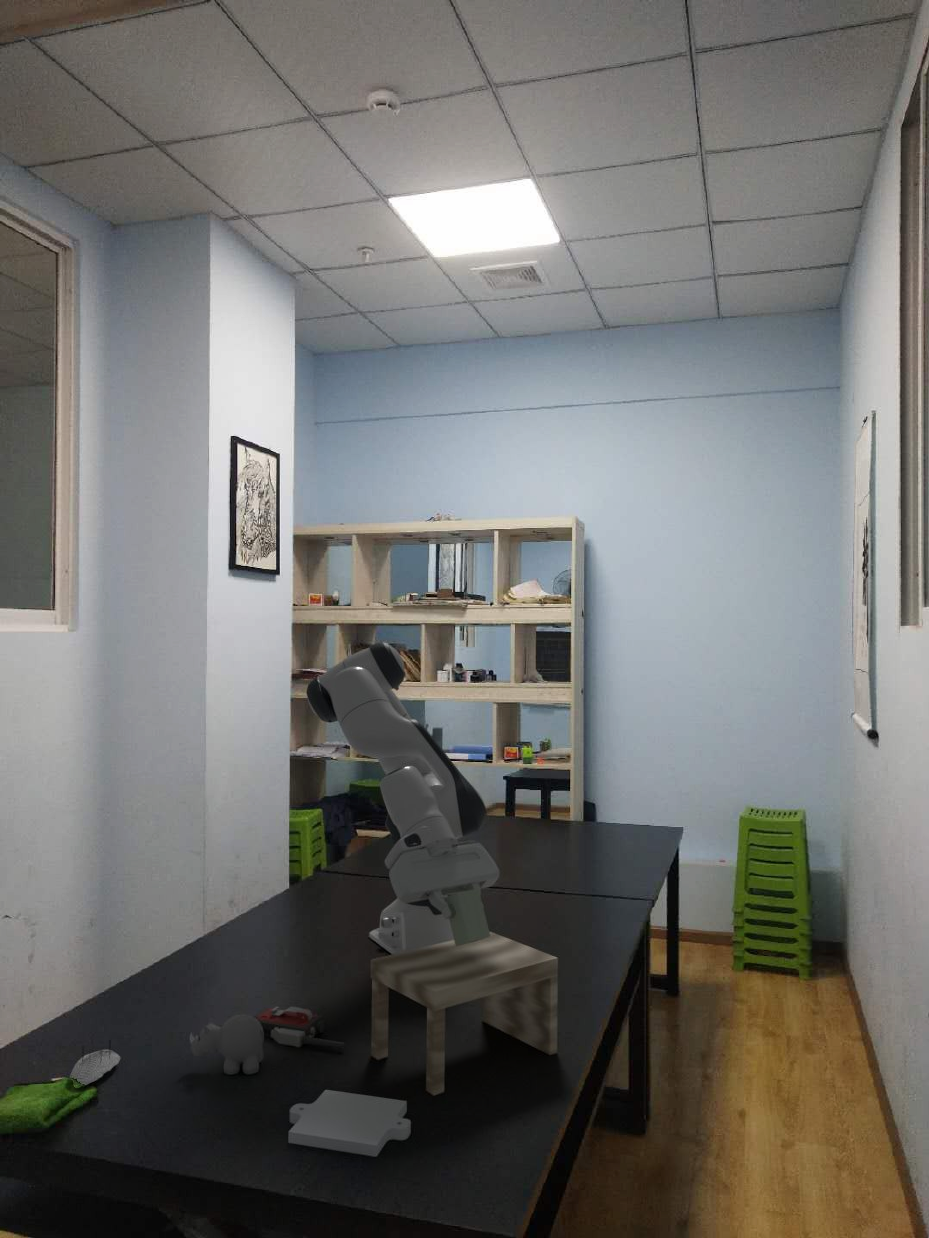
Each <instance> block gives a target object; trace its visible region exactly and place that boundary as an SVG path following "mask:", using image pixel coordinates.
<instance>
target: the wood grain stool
mask: <svg viewBox="0 0 929 1238" xmlns="http://www.w3.org/2000/svg"><path fill="white" fill-rule="evenodd" d="M489 932H490V936H491V937H488V938H485V939H482V940H479V941H476V942H472V943H467V944H463V945H459V946H456V945H455V941H454V940H452V941H448V942H443V943H439V944H435V945H431V946H427V947H422V948H418V949H414V950H410V951H405V952H401V953H397V954H389V955H384V956H380V957H376V958H372V959H370V978H371V980H372V981H371V1044H370V1045H371V1048H370V1049H371V1050H370V1051H371V1052H370V1054H371V1057H373V1058H374V1059H376V1060H382V1059H384V1058H388V1057H389V1004H390V1003H389V1002H390V1001H389V999H390V998H389V997H390V995H389V994H390V993H389V992H390V990H389V989H392V990H393V991H395V992H397V993H399V994H402V996H403V995H404V996H405V997H407V998H409V999H410V1000H413V1001H415V1002H416V1003H419V1004H420V1005H422V1006H424V1007H426V1063H425V1064H426V1069H425V1070H426V1071H425V1072H426V1074H425V1076H426V1077H425V1078H426V1079H425V1083H426V1084H425V1091H426V1092H428V1093H429V1094H431V1095H432V1096H437V1095H439V1094H442V1093H445V1065H446V1064H445V1062H446V1061H445V1060H446V1058H445V1057H446V1055H445V1054H446V1052H445V1051H446V1049H445V1048H446V1044H445V1043H446V1009H447V1008H450V1007H454V1006H457V1005H460V1004H464V1003H467V1002H470V1001H475V1000H477V999H482V1005H481V1006H482V1007H481V1008H482V1011H481V1013H482V1014H481V1015H482V1017H481V1018H482V1019H481V1020H482V1022H483V1023H485V1024H488V1025H489V1026H491V1027H493V1028H495V1029H498V1030H499V1031H501V1032H504V1033H505V1034H508V1035H510V1037H513V1038H515V1039H517V1040H520V1041H521V1042H523V1043H525V1044H527V1045H529V1046H531V1047H533V1048H535V1049H537V1050H539V1051H541V1052H543V1053H545V1054H547V1055H549V1056H551V1055H555V1054H557V1053H558V995H559V994H558V992H559V991H558V989H559V985H558V981H559V980H558V979H559V976H558V975H559V970H558V969H559V958H558V957H557V956H554V955H551V954H550V953H547V952H543V951H542V950H539V949H537V948H533V947H531V946H529V945H526V944H523V943H520V942H519V941H516V940H512V939H510V938H509V937H506V936H502V935H500V934H497V933H495V932H492V931H489Z"/></svg>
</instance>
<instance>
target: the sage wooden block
mask: <svg viewBox="0 0 929 1238" xmlns="http://www.w3.org/2000/svg"><path fill="white" fill-rule="evenodd" d="M444 901H445V902H446V903H447V904H448V905H450V904H452V905H453V907H454V909H455V911H456V915H455V916H454V917H453V918H450V919H449V921H450V925H451V929H452V933H453V937H454V941H455V945H456V946H459V945H463V944H467V943H472V942H476V941H479V940H482V939H485V938H488V937H491V936H490V932H491V931H490V929H489V925H488V921H487V917H486V913H485V910H484V908H483V906H484V904H483V902H482V898H481V895H480V894H479V890H478V889H473V890H468V891H463V892H458V893H455V894H453V895H450V896H448V897H445V898H444ZM482 904H483V905H482Z"/></svg>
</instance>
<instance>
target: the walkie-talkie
mask: <svg viewBox="0 0 929 1238" xmlns="http://www.w3.org/2000/svg"><path fill="white" fill-rule="evenodd" d="M252 1016H253V1017H254V1018H256V1019H257V1020H258V1021H259V1022H260V1024H261V1026H262V1028H263V1032H264V1037H265V1036H268V1037H267V1038H271V1037H272V1038H271V1039H273V1040H274V1041H275V1042H276V1043H277V1044H280V1045H283V1046H284V1045H286V1046H291V1047H292V1046H293V1047H295V1048H300V1047H302V1046H303V1045H314V1046H320V1047H327V1048H329V1047H331V1046H332V1047H338V1048H345V1046H346V1044H345V1042H341V1041H335V1040H330V1039H329V1040H328V1039H322V1038H315V1037H316V1036H317V1035H318V1034H322V1033H324V1030H325V1027H326V1024H325V1023H326V1022H325V1021H324V1016H323V1015H319V1014H314V1013H313V1011H312V1009H310V1008H304V1007H303V1008H301V1007H297V1006H290V1007H288V1008H286V1009H280V1007H279V1006H275V1007H263V1008H262V1009H260V1010H259V1011H258V1012H256V1013H255V1014H254V1015H252Z"/></svg>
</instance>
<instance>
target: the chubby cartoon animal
mask: <svg viewBox="0 0 929 1238" xmlns="http://www.w3.org/2000/svg"><path fill="white" fill-rule="evenodd" d="M264 1039H265V1036H264V1032H263V1028H262V1026H261V1024H260V1022H259V1021H258V1020H257V1019H256V1018H254V1017H253V1015H251V1014H245V1013H241V1014H236V1015H233V1016H231V1017H230V1018H228V1019H227V1020H226V1021H225V1022H224V1023H223V1025H222V1026H218V1025H217V1024H214V1022H213V1020H212V1018H208V1024H207V1025H204V1026H203V1028H202V1029H201V1031H200V1033H199V1036H198V1035H195V1037H194V1034H193V1032H190V1035H189V1043H190V1049H191V1053H192V1054H193V1055H194V1056H196V1057H200V1056H201V1057H202V1056H204V1055H205V1054H206V1053H215V1052H217V1051H219V1052H221V1054H222V1055H223V1056H224V1059H225V1060H224V1064H223V1073H224V1074H226V1075H228V1076H230V1075H231V1076H232V1075H236V1074H238V1073H240V1071H241V1066H242V1072H243V1074H245V1075H253V1074H256V1073H258V1072H259V1070H260V1064H259V1063H261V1062H262V1061H263V1060H264V1059H263V1058H264V1049H263V1044H264Z"/></svg>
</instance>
